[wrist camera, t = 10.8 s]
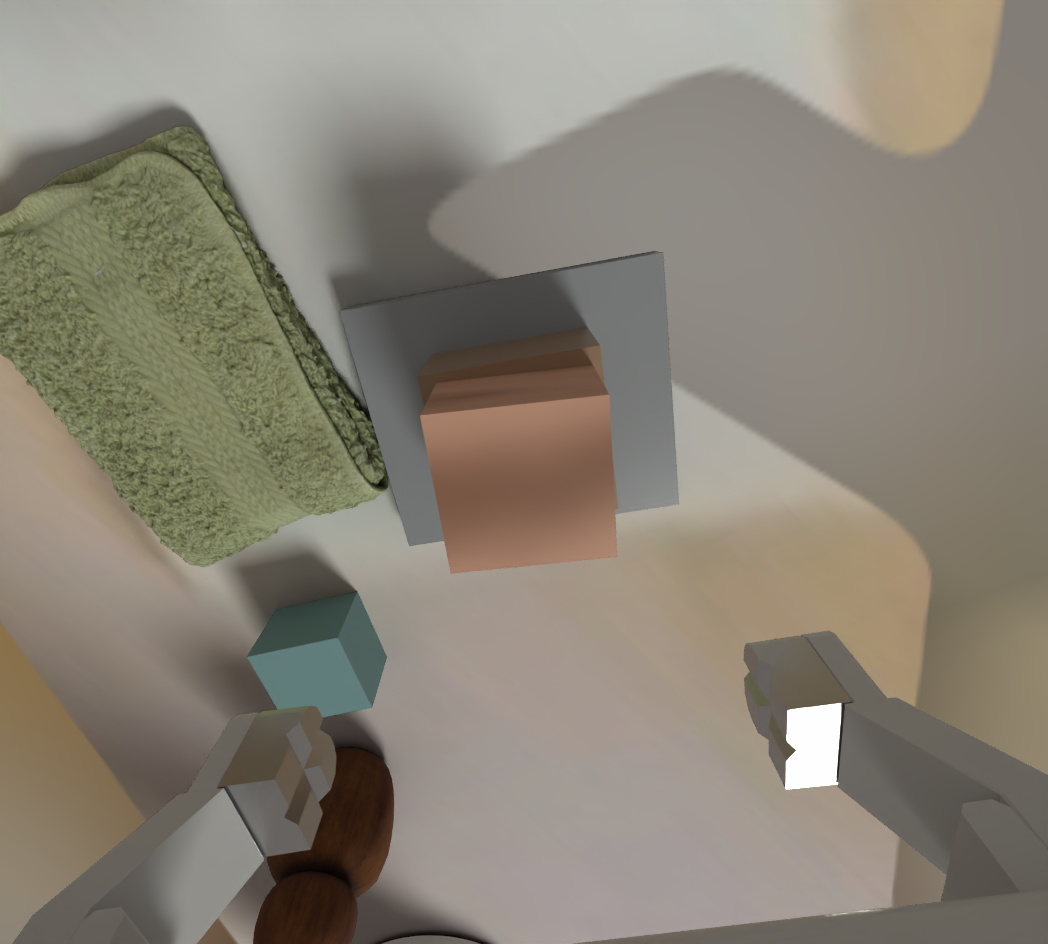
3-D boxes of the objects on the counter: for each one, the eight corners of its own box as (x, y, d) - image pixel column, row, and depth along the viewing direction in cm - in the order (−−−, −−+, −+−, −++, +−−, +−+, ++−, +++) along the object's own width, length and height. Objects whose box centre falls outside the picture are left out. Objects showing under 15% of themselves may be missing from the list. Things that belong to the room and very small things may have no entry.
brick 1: (387, 655, 34) (372, 707, 30) (310, 671, 34) (286, 724, 31) (357, 590, 32) (337, 637, 28) (276, 608, 32) (246, 657, 29)
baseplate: (671, 491, 29) (703, 546, 24) (414, 531, 30) (393, 592, 25) (654, 250, 24) (691, 257, 19) (348, 306, 25) (307, 326, 20)
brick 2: (601, 505, 23) (617, 556, 20) (461, 519, 24) (450, 573, 20) (593, 365, 21) (609, 394, 17) (436, 382, 21) (419, 415, 17)
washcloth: (204, 111, 22) (157, 93, 20) (410, 473, 29) (398, 500, 26) (-41, 249, 24) (-117, 252, 22) (205, 558, 31) (172, 593, 28)
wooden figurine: (413, 747, 37) (353, 1057, 23) (392, 802, 39) (325, 1114, 25) (312, 724, 36) (186, 1032, 22) (296, 781, 38) (173, 1095, 24)
